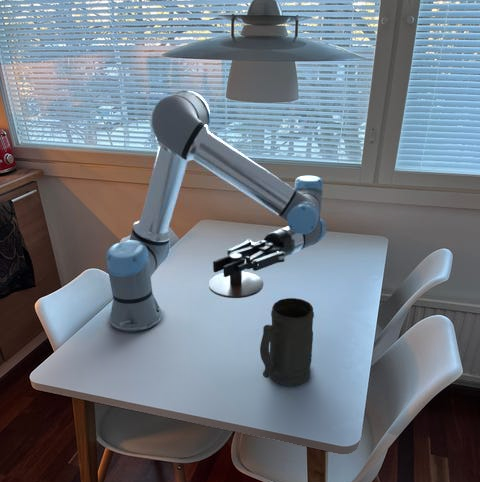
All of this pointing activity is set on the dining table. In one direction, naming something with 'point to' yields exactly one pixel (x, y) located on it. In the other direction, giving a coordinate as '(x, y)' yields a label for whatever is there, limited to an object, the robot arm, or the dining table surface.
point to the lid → (236, 283)
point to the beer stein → (288, 342)
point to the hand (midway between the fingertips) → (219, 269)
